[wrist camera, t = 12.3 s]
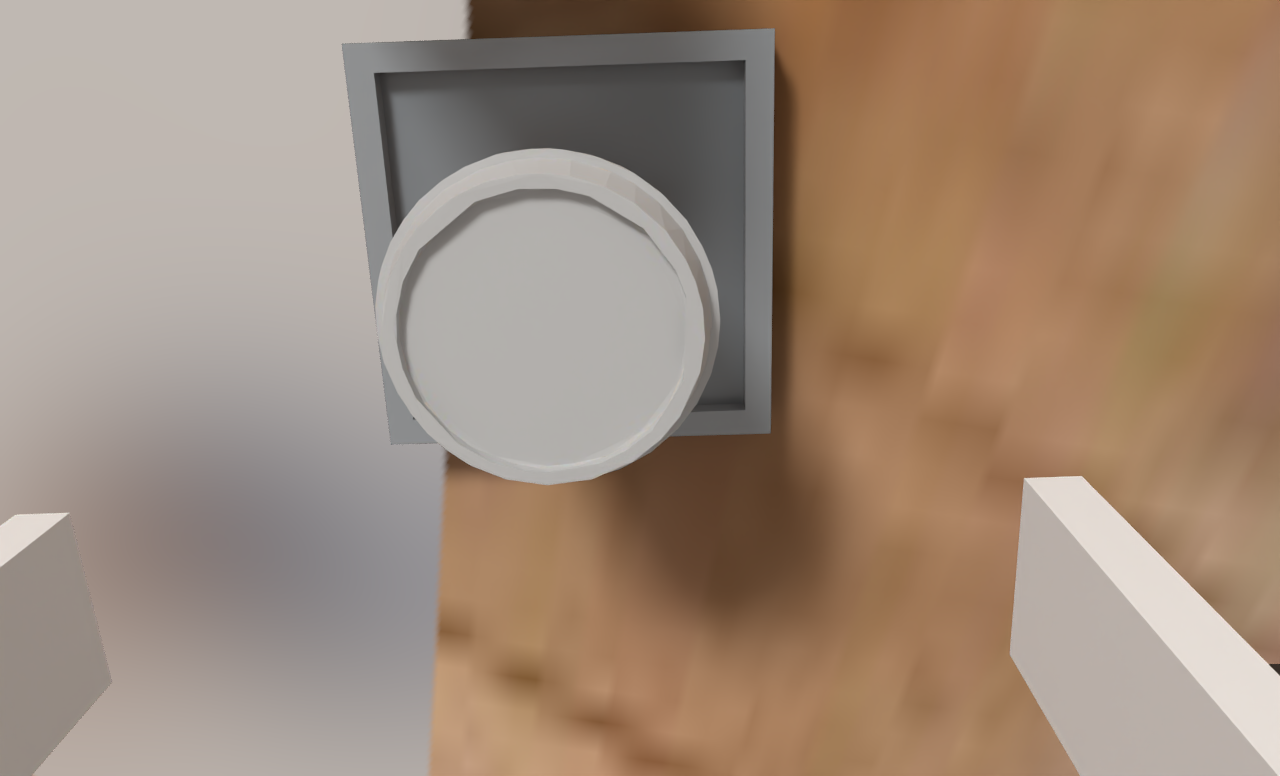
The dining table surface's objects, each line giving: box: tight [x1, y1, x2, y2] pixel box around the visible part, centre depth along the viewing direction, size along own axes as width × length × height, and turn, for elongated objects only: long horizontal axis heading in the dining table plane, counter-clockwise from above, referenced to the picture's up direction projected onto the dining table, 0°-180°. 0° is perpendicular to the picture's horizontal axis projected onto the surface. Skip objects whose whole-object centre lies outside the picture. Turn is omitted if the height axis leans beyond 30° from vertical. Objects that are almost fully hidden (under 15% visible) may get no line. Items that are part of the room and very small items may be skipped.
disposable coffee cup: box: [375, 148, 720, 485], centre depth 32 cm, size 10×10×12 cm
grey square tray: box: [342, 28, 775, 445], centre depth 38 cm, size 15×15×2 cm
